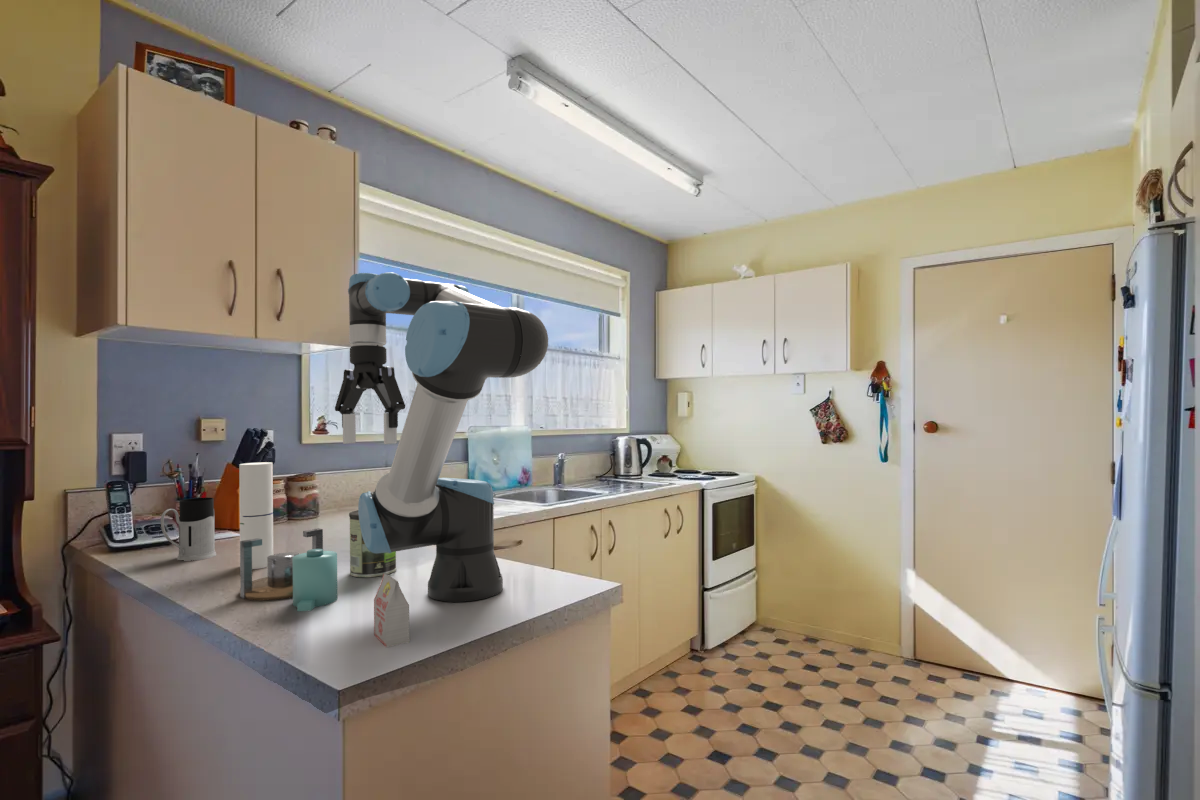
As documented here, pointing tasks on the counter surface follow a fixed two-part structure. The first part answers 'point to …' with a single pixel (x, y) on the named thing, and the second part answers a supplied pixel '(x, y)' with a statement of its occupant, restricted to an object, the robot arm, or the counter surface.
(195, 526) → the white and black mug
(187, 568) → the counter surface
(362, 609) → the counter surface
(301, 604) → the teal plastic cylinder
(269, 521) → the cylindrical container
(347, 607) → the counter surface
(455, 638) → the counter surface
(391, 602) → the milk carton
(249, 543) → the post fixture
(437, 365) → the robot arm
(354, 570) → the coffee can
